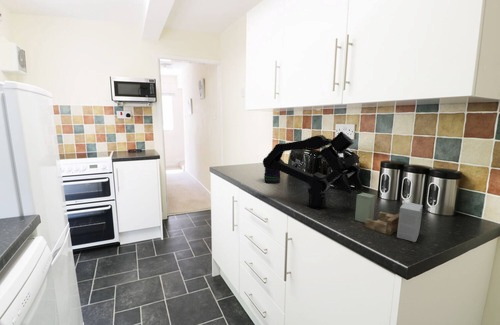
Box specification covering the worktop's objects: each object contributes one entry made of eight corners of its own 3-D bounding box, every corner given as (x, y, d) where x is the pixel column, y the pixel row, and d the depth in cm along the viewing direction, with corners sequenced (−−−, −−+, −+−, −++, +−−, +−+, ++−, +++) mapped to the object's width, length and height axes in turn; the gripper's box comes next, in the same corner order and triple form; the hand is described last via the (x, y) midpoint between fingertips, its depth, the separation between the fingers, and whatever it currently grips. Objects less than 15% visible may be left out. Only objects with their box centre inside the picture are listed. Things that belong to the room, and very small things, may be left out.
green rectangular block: (354, 219, 101) (356, 194, 99) (360, 216, 104) (362, 192, 102) (367, 223, 97) (369, 197, 95) (373, 220, 100) (375, 195, 98)
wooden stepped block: (365, 227, 94) (366, 214, 93) (380, 218, 102) (381, 206, 101) (390, 235, 87) (391, 221, 86) (403, 225, 95) (405, 212, 95)
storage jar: (260, 181, 159) (261, 157, 157) (271, 179, 166) (272, 156, 163) (272, 184, 152) (273, 159, 150) (283, 182, 159) (284, 158, 156)
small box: (400, 229, 92) (403, 201, 90) (419, 234, 88) (423, 204, 87) (396, 237, 86) (399, 207, 84) (415, 242, 82) (419, 211, 81)
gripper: (335, 148, 97) (361, 183, 91) (357, 145, 109) (382, 175, 103) (315, 166, 104) (339, 199, 98) (339, 161, 116) (361, 190, 110)
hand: (356, 190), depth 102 cm, fingers open, 9 cm apart
